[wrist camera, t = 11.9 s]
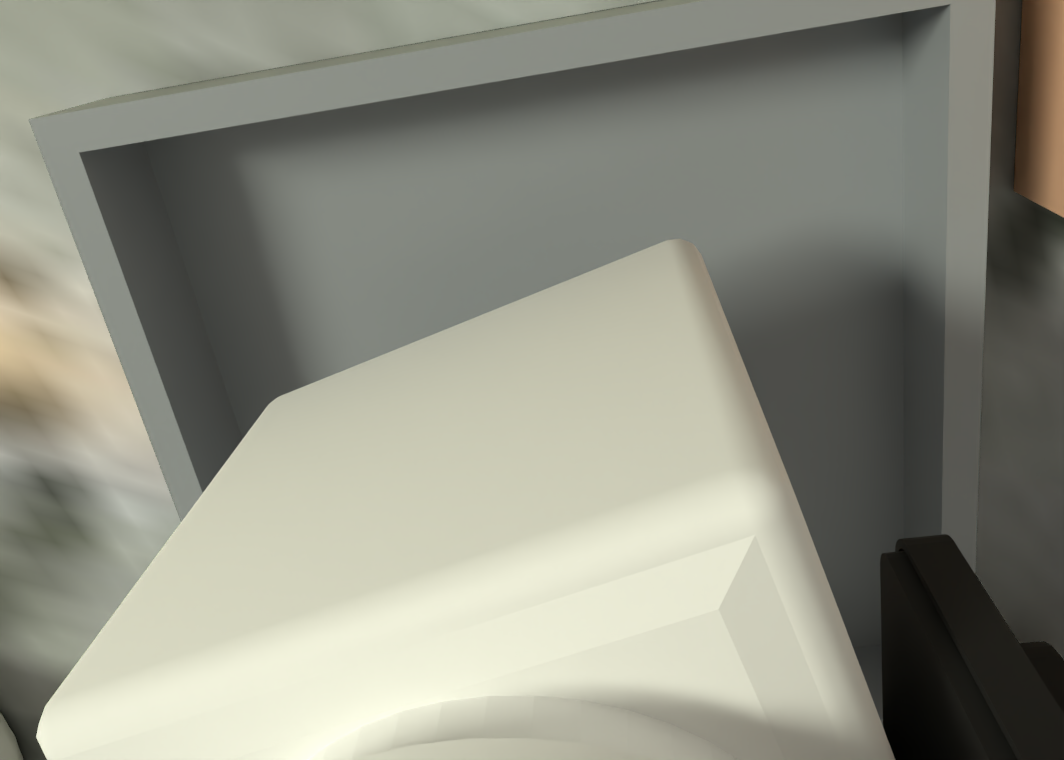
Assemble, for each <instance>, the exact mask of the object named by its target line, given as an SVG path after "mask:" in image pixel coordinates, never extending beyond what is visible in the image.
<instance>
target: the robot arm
mask: <svg viewBox="0 0 1064 760" xmlns="http://www.w3.org/2000/svg"><path fill="white" fill-rule="evenodd" d="M880 586H881V644H882V703H883V728H884V731H885V734H886V736H887V739H888V742H889V744H890V747H891V749H892V752H893V755H894V757H895V760H1064V660H1063V659H1062V657H1061V656H1060V655H1059V654H1058V652H1057V651H1056V650H1055V649H1054V648H1053V647H1052V646H1051V645H1049V644H1048V643H1046V642H1044V641H1043V642H1032V643H1021V644H1019V642H1018V641H1017V639H1016V638H1015V636H1014V635H1013V633H1012V631H1011V630H1010V628H1009V627H1008V625H1007V624H1006V622H1005V620H1004V619H1003V617H1002V616H1001V614H1000V613H999V611H998V609H997V608H996V606H995V605H994V603H993V602H992V600H991V598H990V597H989V595H988V594H987V592H986V591H985V589H984V587H983V586H982V584H981V583H980V581H979V580H978V578H977V576H976V575H975V573H974V572H973V570H972V569H971V567H970V565H969V564H968V562H967V561H966V559H965V558H964V556H963V554H962V553H961V551H960V550H959V548H958V547H957V545H956V543H955V542H954V540H953V539H952V538H951V537H950V536H949V535H947V534H942V535H933V536H923V537H913V538H903V539H899V540H897V542H896V546H895V552H888V553H882V554H881V558H880Z"/></svg>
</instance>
